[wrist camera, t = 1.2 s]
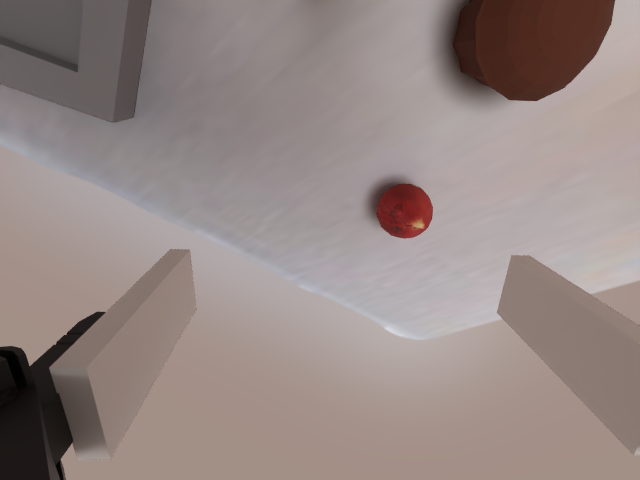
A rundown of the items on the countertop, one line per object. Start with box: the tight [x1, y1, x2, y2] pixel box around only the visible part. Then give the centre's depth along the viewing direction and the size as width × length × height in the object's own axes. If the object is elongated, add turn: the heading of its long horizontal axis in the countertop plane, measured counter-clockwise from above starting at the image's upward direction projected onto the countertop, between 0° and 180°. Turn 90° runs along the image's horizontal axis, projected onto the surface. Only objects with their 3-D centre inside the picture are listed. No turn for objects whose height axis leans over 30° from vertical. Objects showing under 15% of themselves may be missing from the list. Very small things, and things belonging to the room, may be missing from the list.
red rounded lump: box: [376, 184, 433, 238], centre depth 36 cm, size 6×6×8 cm
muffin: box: [453, 0, 615, 101], centre depth 29 cm, size 12×11×10 cm
